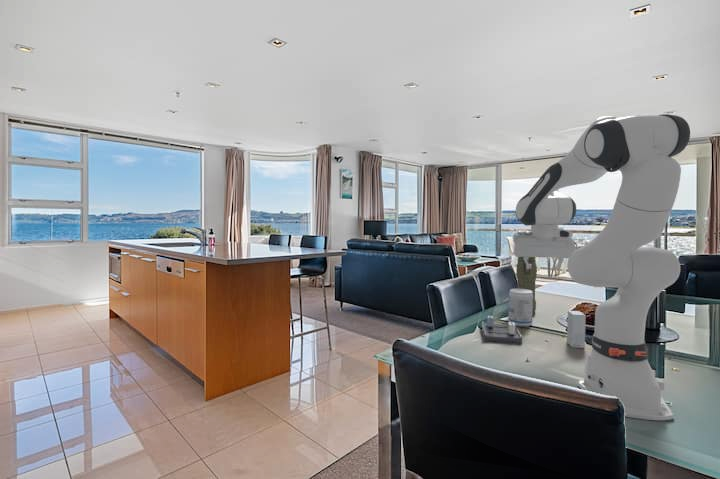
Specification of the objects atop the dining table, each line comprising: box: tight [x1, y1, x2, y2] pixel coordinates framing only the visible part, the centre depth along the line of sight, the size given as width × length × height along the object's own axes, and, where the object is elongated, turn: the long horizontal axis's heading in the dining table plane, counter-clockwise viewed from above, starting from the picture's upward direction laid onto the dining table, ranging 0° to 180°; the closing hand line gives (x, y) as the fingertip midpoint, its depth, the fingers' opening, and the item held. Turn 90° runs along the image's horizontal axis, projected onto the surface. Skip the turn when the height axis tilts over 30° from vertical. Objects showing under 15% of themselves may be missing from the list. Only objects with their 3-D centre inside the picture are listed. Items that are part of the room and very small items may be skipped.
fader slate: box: [486, 314, 494, 327], centre depth 153 cm, size 4×2×4 cm, turn 166°
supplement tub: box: [507, 288, 533, 328], centre depth 163 cm, size 10×10×15 cm
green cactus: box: [515, 257, 538, 317], centre depth 180 cm, size 9×12×35 cm
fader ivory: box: [507, 322, 515, 334], centre depth 144 cm, size 4×2×4 cm, turn 166°
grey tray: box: [481, 320, 523, 345], centre depth 149 cm, size 18×13×3 cm
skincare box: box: [566, 310, 587, 349], centre depth 137 cm, size 6×4×12 cm
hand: (542, 269), depth 138 cm, fingers open, 8 cm apart
